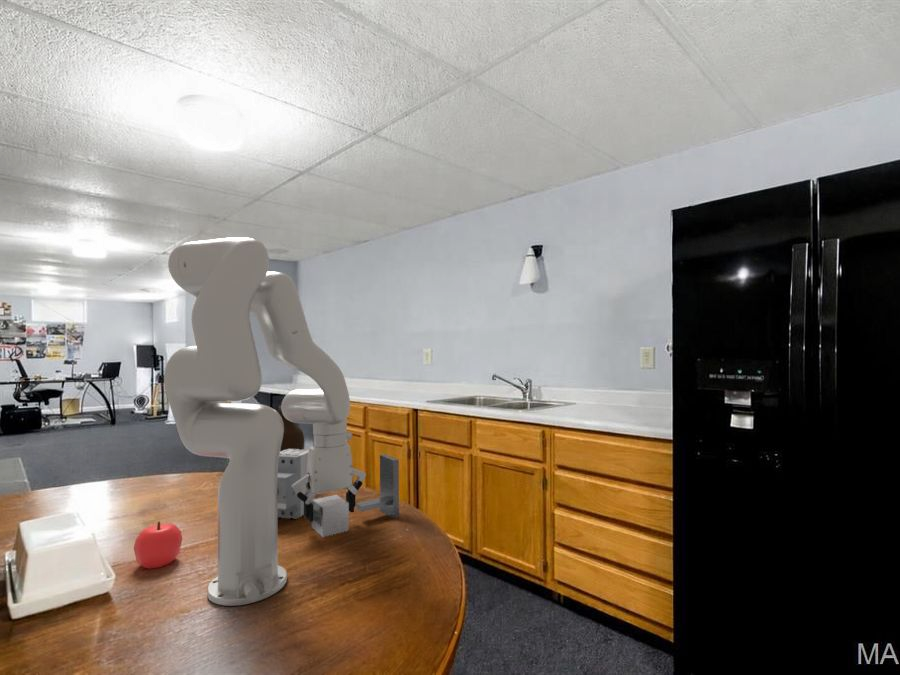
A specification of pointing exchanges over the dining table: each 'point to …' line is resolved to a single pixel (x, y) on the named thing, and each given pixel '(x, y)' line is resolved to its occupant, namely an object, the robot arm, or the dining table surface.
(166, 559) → the apple
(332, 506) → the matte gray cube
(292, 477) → the circuit breaker
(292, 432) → the olive oil
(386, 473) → the grey l-shaped bracket part
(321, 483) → the robot arm
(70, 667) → the dining table surface
